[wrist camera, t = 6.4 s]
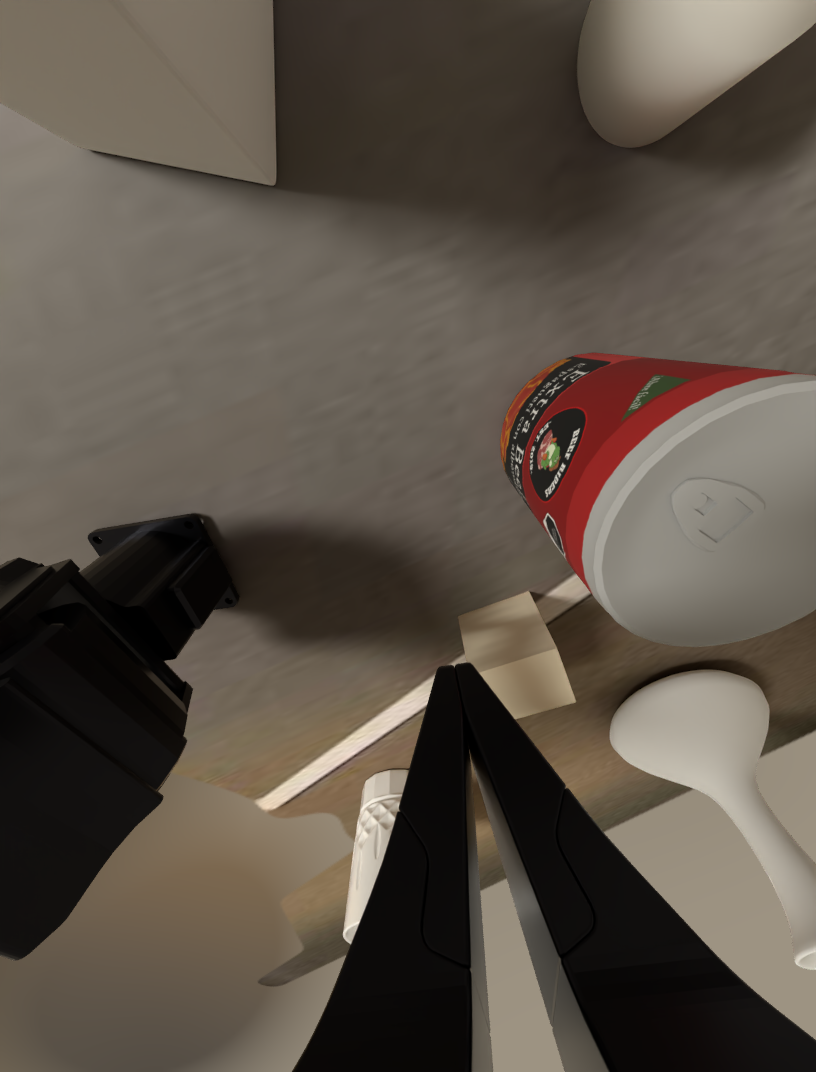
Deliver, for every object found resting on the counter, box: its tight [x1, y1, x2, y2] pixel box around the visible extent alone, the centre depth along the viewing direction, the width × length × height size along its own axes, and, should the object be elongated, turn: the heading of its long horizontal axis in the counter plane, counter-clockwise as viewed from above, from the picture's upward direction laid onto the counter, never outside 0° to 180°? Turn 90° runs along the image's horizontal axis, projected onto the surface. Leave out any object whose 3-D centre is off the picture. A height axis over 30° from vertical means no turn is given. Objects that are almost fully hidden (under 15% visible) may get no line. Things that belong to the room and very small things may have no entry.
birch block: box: [458, 591, 576, 719], centre depth 23 cm, size 5×5×5 cm
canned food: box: [500, 353, 816, 647], centre depth 14 cm, size 8×8×11 cm
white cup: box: [343, 769, 409, 944], centre depth 31 cm, size 8×8×10 cm
